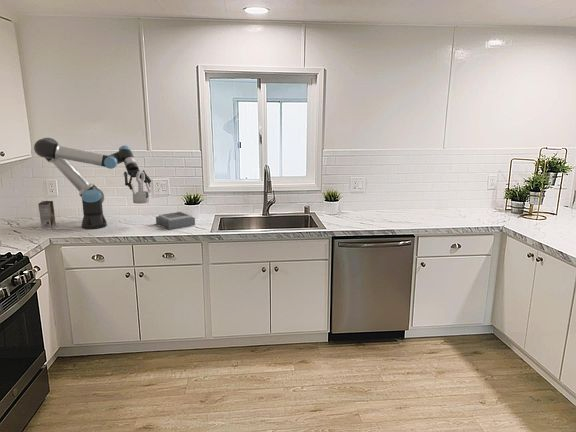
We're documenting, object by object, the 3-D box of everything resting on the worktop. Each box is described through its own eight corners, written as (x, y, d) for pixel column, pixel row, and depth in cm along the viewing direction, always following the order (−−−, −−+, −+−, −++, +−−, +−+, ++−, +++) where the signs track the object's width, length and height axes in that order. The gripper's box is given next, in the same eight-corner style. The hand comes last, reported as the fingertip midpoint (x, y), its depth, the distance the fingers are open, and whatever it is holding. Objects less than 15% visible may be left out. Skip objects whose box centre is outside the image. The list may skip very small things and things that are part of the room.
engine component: (130, 203, 280) (144, 204, 278) (128, 171, 275) (142, 172, 273) (138, 199, 290) (152, 200, 288) (137, 169, 285) (150, 170, 284)
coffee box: (45, 224, 285) (42, 200, 282) (56, 224, 287) (53, 200, 283) (40, 228, 277) (37, 203, 273) (51, 227, 278) (48, 203, 274)
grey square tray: (156, 223, 291) (155, 214, 290) (181, 219, 303) (181, 210, 302) (168, 229, 277) (168, 219, 276) (195, 225, 290) (194, 215, 288)
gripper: (145, 168, 298) (156, 193, 290) (113, 170, 283) (124, 197, 275) (148, 161, 293) (160, 187, 285) (115, 163, 278) (126, 190, 270)
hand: (142, 192), depth 280 cm, fingers closed on engine component, 10 cm apart
